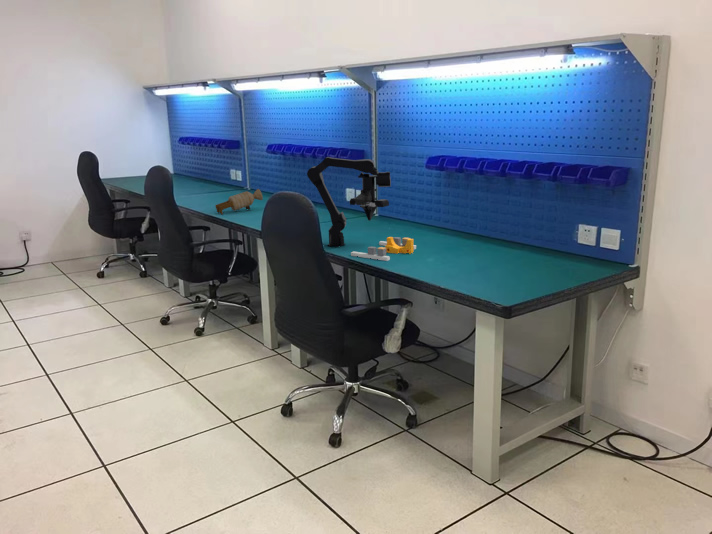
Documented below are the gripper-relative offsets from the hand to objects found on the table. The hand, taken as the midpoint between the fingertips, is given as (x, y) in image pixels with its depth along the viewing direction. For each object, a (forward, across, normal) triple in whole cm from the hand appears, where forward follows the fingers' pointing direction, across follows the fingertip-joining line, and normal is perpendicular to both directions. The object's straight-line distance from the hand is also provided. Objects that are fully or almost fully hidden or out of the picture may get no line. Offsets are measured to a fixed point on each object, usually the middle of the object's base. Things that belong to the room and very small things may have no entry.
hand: (369, 220), depth 274 cm
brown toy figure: (+12, -129, +41) cm, 136 cm away
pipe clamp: (+12, +19, -6) cm, 24 cm away
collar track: (+12, +13, -8) cm, 19 cm away
